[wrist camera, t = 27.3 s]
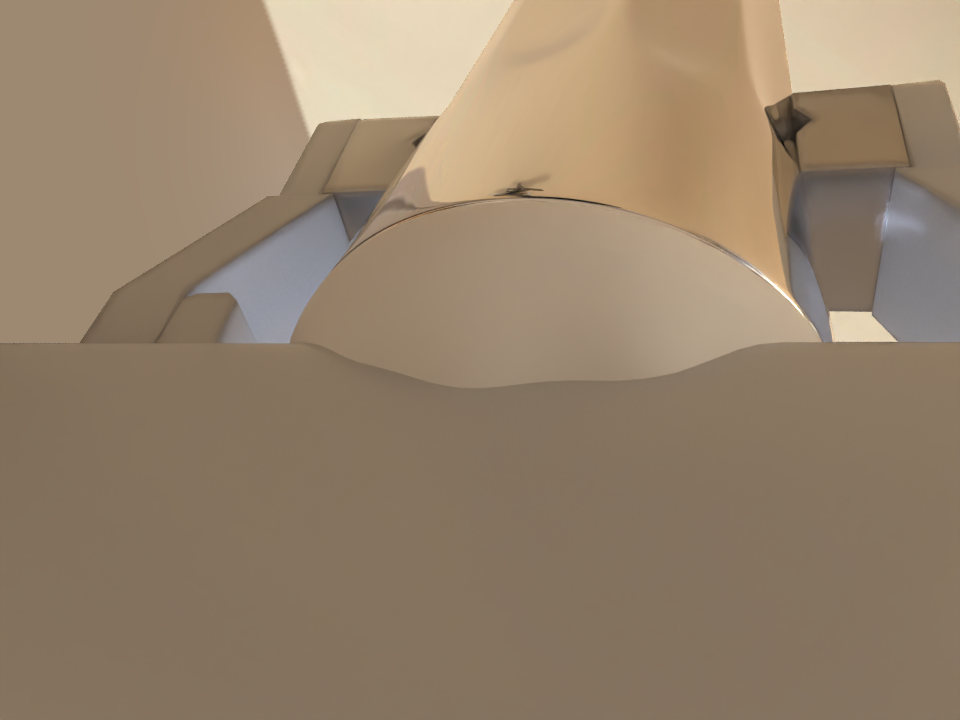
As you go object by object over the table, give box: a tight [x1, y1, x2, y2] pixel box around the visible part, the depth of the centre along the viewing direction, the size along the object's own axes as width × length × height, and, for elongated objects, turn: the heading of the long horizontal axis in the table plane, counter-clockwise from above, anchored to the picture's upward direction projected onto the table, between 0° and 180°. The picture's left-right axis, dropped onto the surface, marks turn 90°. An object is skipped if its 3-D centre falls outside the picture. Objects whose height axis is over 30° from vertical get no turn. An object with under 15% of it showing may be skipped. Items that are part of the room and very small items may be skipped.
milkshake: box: [290, 0, 835, 388], centre depth 10 cm, size 4×5×10 cm
